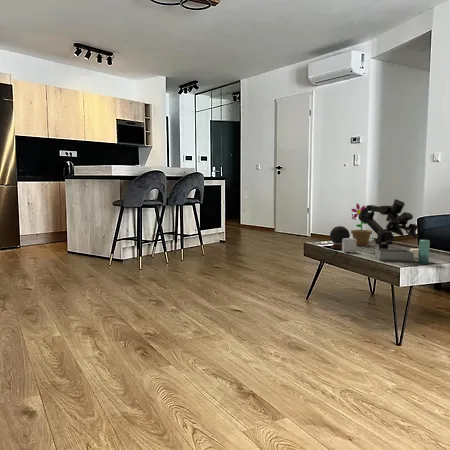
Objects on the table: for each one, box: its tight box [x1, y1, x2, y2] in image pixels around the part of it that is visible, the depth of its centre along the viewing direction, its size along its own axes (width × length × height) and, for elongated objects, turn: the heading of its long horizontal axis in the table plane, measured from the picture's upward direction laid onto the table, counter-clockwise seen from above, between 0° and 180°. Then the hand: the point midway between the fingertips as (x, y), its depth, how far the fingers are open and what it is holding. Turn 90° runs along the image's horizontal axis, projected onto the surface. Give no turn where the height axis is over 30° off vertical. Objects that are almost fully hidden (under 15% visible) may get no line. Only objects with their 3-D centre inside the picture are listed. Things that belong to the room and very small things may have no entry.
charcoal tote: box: [374, 248, 414, 263], centre depth 239 cm, size 14×18×5 cm
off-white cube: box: [409, 248, 419, 259], centre depth 246 cm, size 5×5×5 cm
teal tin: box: [417, 239, 431, 265], centre depth 227 cm, size 5×5×12 cm
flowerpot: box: [350, 203, 373, 247], centre depth 301 cm, size 14×14×30 cm
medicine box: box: [341, 237, 357, 254], centre depth 266 cm, size 8×4×9 cm, turn 92°
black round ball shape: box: [329, 225, 351, 250], centre depth 285 cm, size 13×13×15 cm
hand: (409, 236), depth 234 cm, fingers open, 9 cm apart
